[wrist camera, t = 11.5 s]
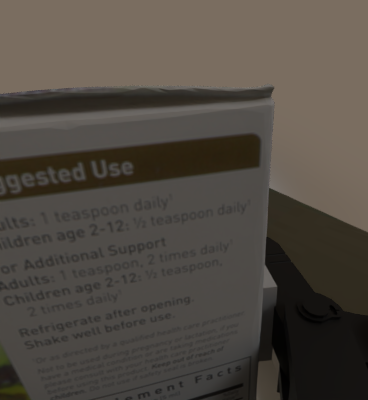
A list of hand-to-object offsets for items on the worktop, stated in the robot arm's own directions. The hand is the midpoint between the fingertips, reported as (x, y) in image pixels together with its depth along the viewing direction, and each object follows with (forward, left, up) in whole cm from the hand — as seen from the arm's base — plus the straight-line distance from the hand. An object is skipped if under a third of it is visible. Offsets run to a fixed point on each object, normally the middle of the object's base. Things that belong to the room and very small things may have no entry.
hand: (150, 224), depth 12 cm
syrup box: (0, +5, -9) cm, 10 cm away
